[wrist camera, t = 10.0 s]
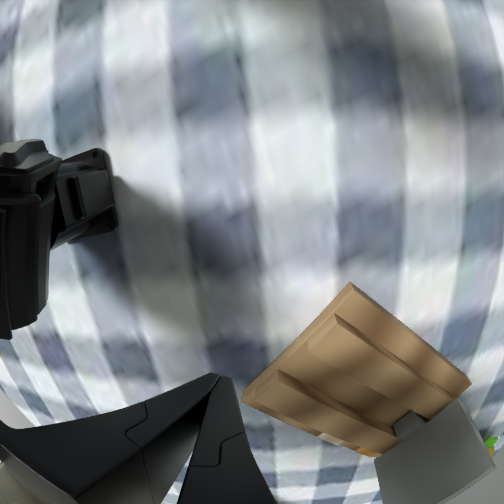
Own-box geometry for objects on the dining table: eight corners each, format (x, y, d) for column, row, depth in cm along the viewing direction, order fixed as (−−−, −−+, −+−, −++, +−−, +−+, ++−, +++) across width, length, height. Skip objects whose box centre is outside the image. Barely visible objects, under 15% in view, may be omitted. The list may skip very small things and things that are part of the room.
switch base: (242, 390, 26) (239, 413, 23) (349, 281, 22) (359, 300, 19) (375, 448, 29) (379, 467, 26) (466, 375, 25) (477, 392, 22)
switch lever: (364, 445, 26) (379, 528, 16) (444, 382, 23) (487, 465, 13) (385, 452, 27) (402, 528, 16) (460, 393, 23) (500, 468, 13)
